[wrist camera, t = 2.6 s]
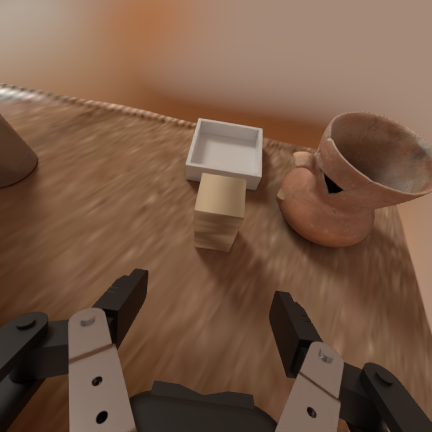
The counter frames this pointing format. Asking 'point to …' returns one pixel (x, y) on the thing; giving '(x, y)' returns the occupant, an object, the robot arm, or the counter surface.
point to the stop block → (218, 211)
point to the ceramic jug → (354, 178)
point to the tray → (226, 152)
